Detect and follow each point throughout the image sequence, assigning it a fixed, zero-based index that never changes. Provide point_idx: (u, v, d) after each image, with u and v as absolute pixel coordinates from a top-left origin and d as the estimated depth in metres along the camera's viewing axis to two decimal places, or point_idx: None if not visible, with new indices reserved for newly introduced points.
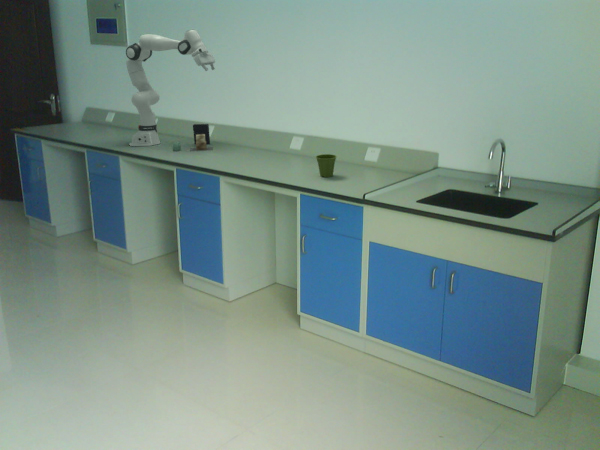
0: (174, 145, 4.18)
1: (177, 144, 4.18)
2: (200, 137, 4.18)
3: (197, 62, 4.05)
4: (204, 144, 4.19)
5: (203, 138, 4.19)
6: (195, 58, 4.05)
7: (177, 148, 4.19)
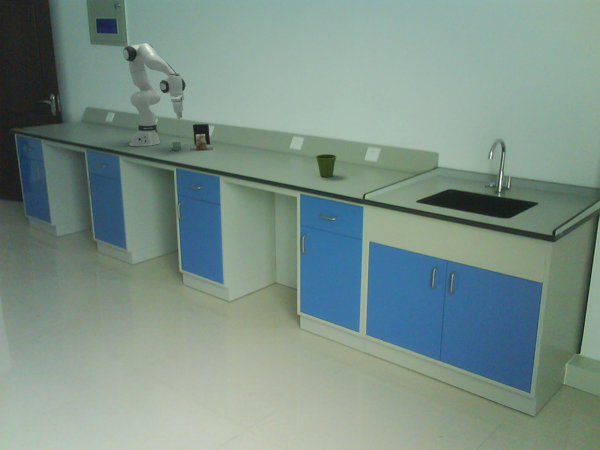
0: (174, 145, 4.18)
1: (177, 144, 4.18)
2: (200, 137, 4.18)
3: (175, 109, 4.03)
4: (204, 144, 4.19)
5: (203, 138, 4.19)
6: (175, 105, 4.02)
7: (177, 148, 4.19)
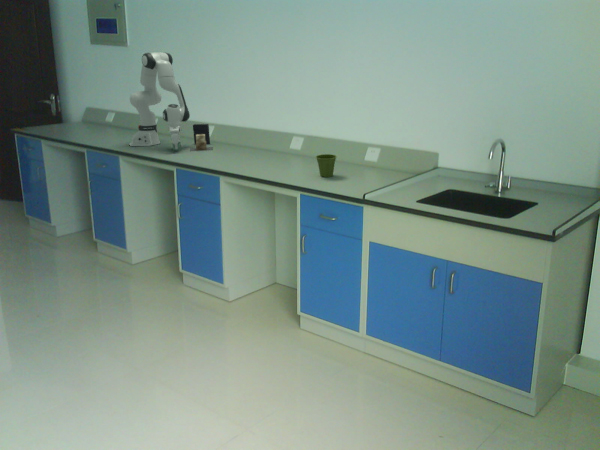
0: (174, 145, 4.18)
1: None
2: (200, 137, 4.18)
3: (174, 141, 4.10)
4: (204, 144, 4.19)
5: (203, 138, 4.19)
6: (173, 136, 4.09)
7: None
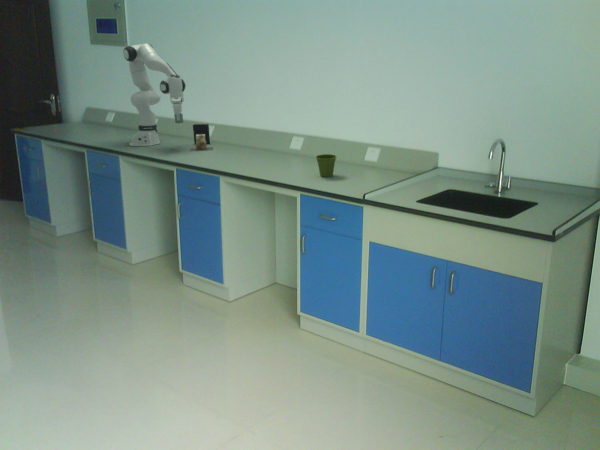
0: (176, 116, 4.12)
1: None
2: (200, 137, 4.18)
3: (175, 111, 4.03)
4: (204, 144, 4.19)
5: (203, 138, 4.19)
6: (175, 106, 4.03)
7: None
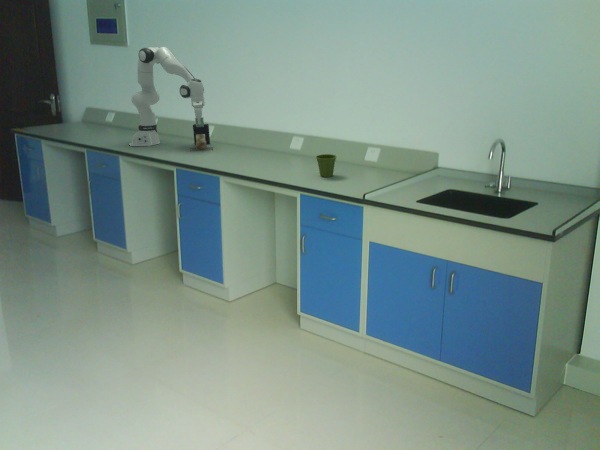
0: (197, 120, 4.15)
1: None
2: (200, 137, 4.18)
3: (197, 115, 4.06)
4: (204, 144, 4.19)
5: (203, 138, 4.19)
6: (196, 111, 4.06)
7: None
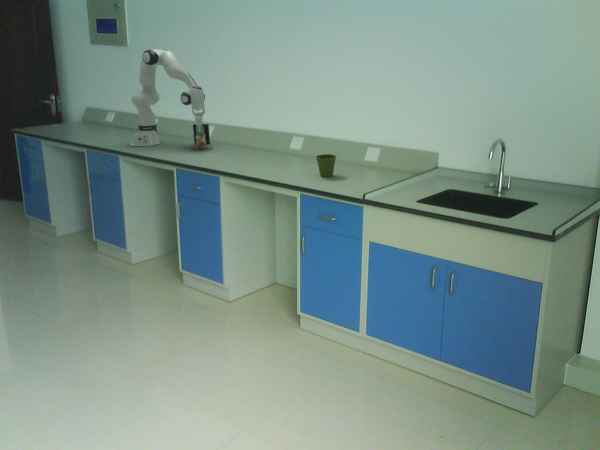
0: (197, 129, 4.17)
1: None
2: (200, 137, 4.18)
3: (197, 123, 4.08)
4: (204, 144, 4.19)
5: (203, 138, 4.19)
6: (197, 118, 4.07)
7: (200, 132, 4.17)
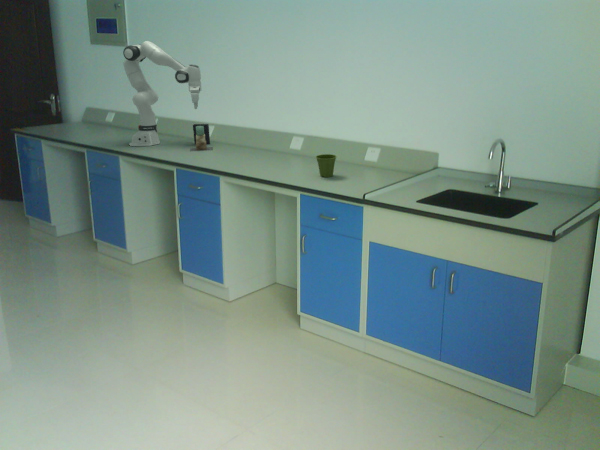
0: (197, 129, 4.17)
1: (200, 128, 4.17)
2: (200, 137, 4.18)
3: (193, 100, 4.20)
4: (204, 144, 4.19)
5: (203, 138, 4.19)
6: (193, 95, 4.20)
7: (200, 132, 4.17)
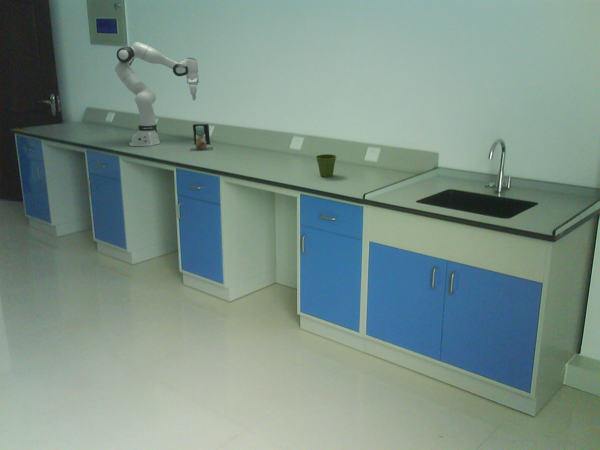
0: (197, 129, 4.17)
1: (200, 128, 4.17)
2: (200, 137, 4.18)
3: (192, 91, 4.36)
4: (204, 144, 4.19)
5: (203, 138, 4.19)
6: (191, 87, 4.35)
7: (200, 132, 4.17)
